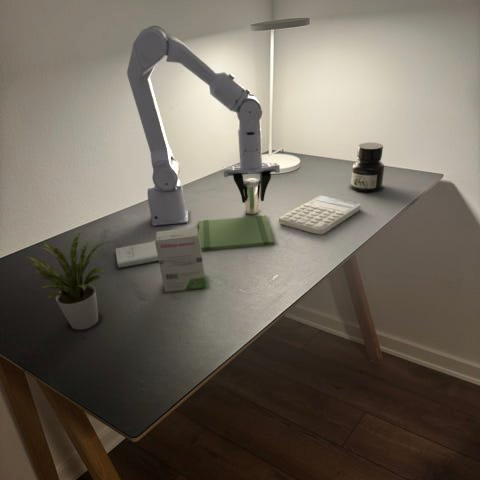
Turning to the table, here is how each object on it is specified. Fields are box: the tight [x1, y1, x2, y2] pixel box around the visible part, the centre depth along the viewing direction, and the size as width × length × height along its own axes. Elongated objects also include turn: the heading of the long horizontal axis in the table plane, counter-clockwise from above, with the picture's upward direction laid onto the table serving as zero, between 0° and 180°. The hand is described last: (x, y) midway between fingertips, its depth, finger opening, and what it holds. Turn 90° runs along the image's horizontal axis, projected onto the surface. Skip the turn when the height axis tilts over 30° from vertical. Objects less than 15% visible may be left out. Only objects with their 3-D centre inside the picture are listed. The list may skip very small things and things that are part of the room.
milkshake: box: [244, 177, 261, 215], centre depth 120 cm, size 4×5×10 cm
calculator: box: [278, 194, 362, 236], centre depth 117 cm, size 13×20×2 cm, turn 139°
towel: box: [198, 214, 276, 252], centre depth 112 cm, size 18×16×1 cm
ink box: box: [154, 226, 207, 293], centre depth 90 cm, size 9×5×12 cm, turn 96°
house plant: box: [25, 232, 111, 330], centre depth 81 cm, size 14×14×16 cm
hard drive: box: [115, 240, 159, 269], centre depth 105 cm, size 2×8×12 cm
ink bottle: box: [350, 142, 385, 193], centre depth 129 cm, size 10×9×12 cm
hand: (252, 200), depth 121 cm, fingers closed on milkshake, 4 cm apart
